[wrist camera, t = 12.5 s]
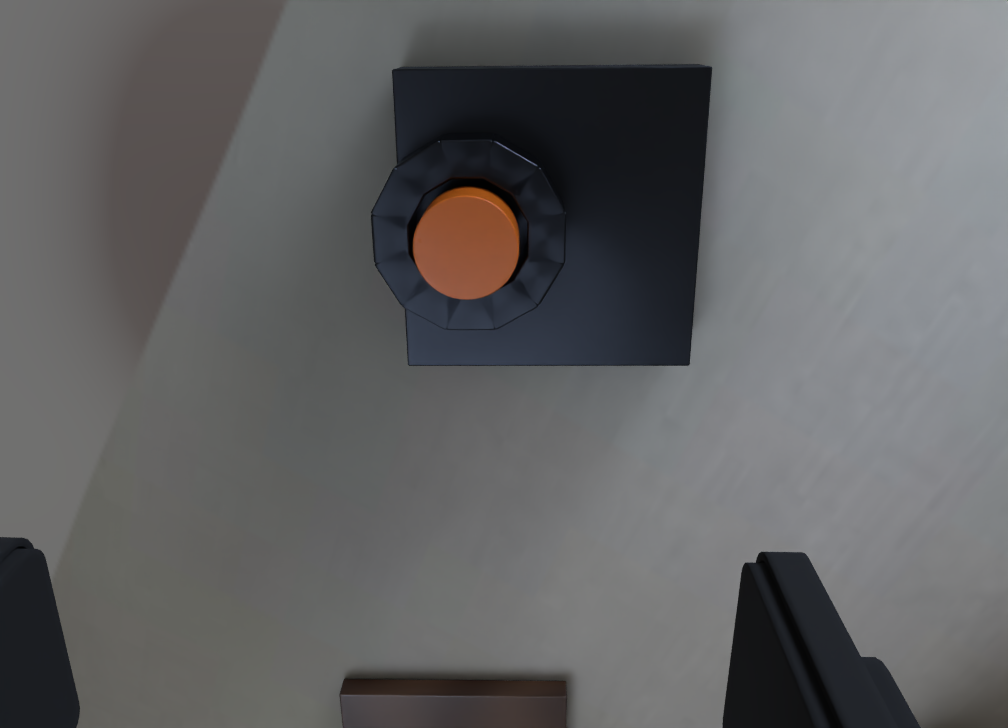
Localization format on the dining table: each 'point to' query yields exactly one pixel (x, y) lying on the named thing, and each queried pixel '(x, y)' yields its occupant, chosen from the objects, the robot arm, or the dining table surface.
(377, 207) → the button box
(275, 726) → the dining table surface
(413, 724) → the holder
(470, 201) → the button
